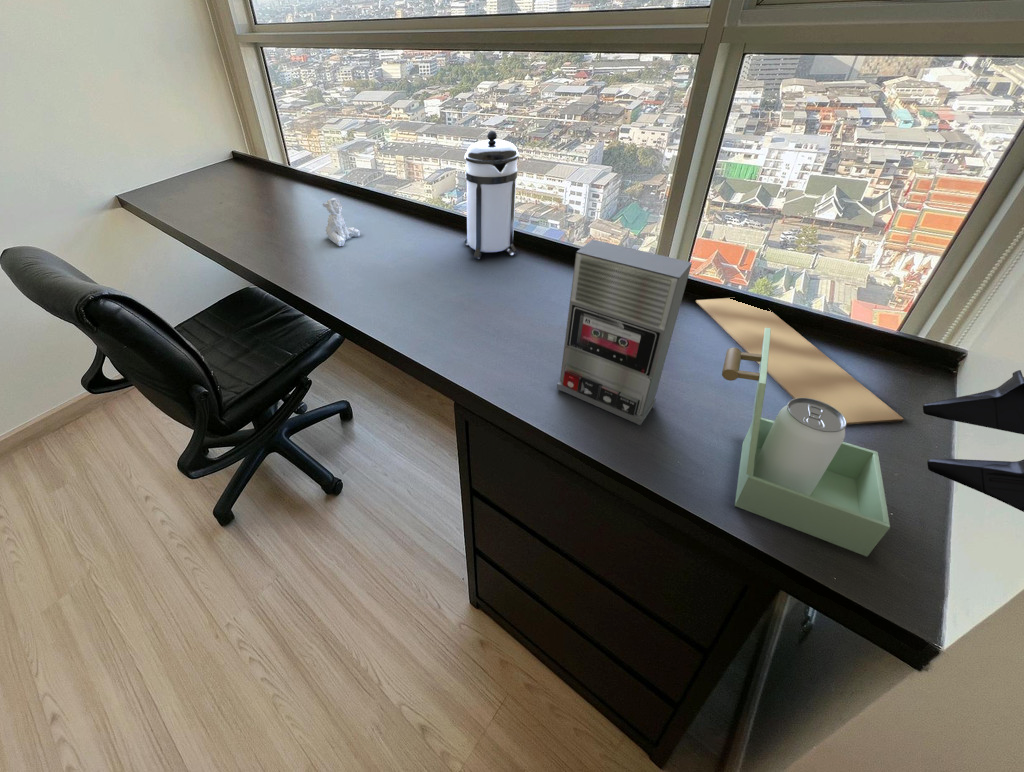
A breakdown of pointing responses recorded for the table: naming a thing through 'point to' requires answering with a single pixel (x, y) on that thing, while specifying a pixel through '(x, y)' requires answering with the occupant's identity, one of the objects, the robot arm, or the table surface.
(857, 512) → the chest
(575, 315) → the cassette tape recorder
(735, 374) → the chest lid
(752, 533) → the table surface
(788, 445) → the can
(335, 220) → the sitting furry creature
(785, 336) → the tan flat long board
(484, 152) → the coffee press
